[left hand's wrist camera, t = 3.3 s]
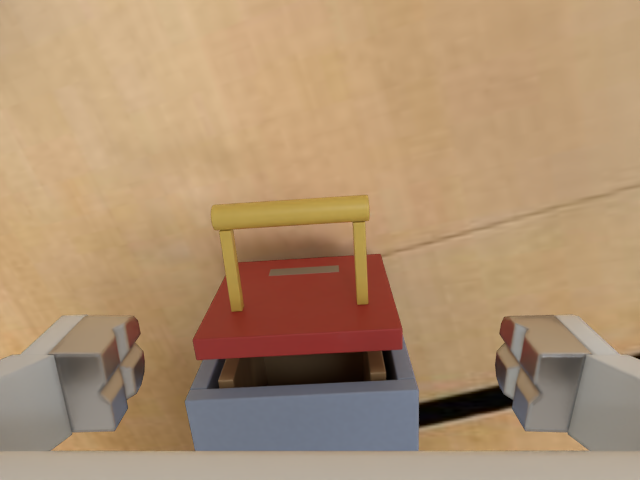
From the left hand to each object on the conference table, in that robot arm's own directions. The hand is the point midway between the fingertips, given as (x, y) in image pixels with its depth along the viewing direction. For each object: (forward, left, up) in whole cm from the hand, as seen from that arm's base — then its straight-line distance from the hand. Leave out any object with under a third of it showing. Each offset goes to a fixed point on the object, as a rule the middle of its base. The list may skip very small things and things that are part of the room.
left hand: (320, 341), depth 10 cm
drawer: (-7, +8, -20) cm, 22 cm away
